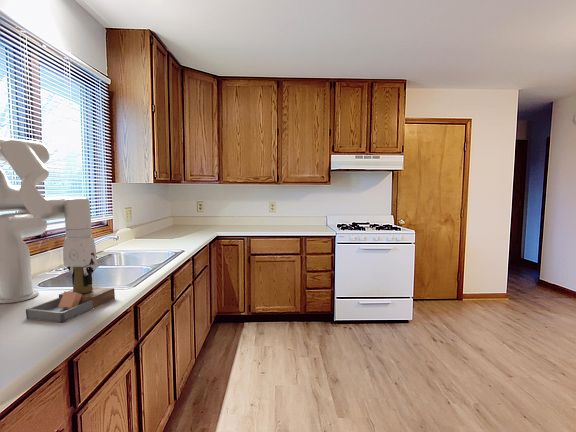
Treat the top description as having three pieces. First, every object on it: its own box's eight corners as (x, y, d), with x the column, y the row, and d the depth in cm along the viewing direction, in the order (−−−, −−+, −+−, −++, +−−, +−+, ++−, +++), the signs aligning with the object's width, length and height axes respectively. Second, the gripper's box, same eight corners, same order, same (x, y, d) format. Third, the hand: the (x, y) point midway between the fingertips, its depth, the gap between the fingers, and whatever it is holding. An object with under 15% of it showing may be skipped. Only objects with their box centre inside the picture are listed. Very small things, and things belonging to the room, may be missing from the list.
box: (26, 318, 105) (25, 309, 105) (59, 305, 116) (58, 297, 116) (62, 322, 102) (61, 313, 101) (92, 308, 113) (92, 300, 112)
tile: (63, 308, 112) (58, 306, 110) (69, 293, 114) (64, 291, 112) (76, 309, 111) (70, 307, 109) (82, 294, 113) (76, 292, 111)
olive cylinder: (88, 287, 122) (86, 257, 121) (95, 290, 118) (93, 259, 117) (70, 291, 117) (67, 260, 116) (76, 294, 113) (74, 263, 112)
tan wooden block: (59, 305, 116) (58, 294, 116) (83, 296, 126) (82, 285, 125) (92, 308, 113) (92, 297, 112) (114, 298, 122) (114, 288, 122)
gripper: (49, 234, 114) (53, 286, 115) (90, 235, 110) (94, 290, 112) (68, 231, 121) (72, 280, 123) (107, 232, 117) (110, 283, 119)
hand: (82, 284), depth 117 cm, fingers closed on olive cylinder, 3 cm apart
